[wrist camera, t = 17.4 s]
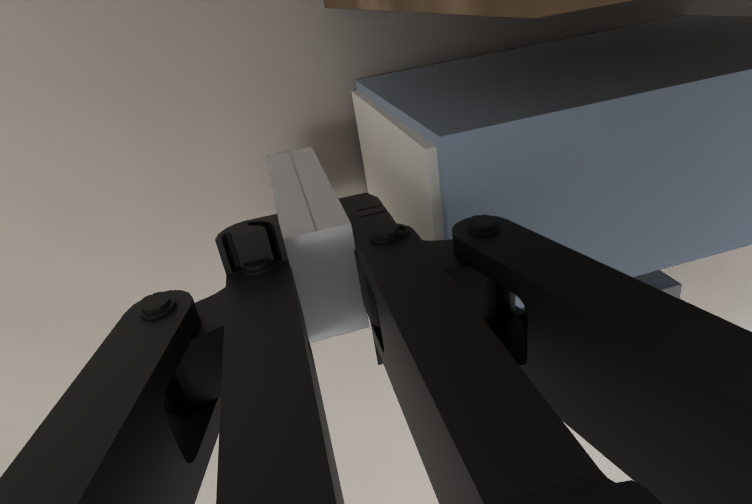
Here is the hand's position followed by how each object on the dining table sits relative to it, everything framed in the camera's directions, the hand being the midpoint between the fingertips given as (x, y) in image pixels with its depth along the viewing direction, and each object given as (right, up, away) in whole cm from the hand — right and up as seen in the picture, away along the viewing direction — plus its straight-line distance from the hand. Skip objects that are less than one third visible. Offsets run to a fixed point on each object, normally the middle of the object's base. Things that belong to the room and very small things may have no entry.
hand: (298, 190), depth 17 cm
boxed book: (+9, +4, +4) cm, 10 cm away
